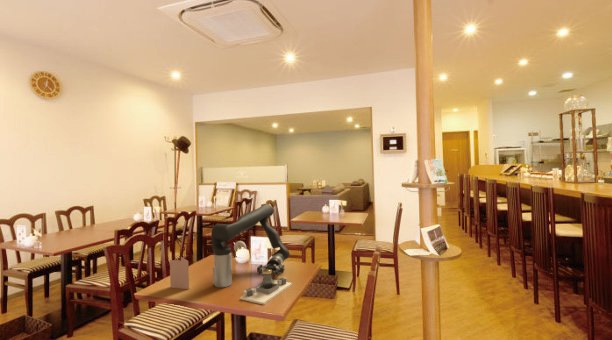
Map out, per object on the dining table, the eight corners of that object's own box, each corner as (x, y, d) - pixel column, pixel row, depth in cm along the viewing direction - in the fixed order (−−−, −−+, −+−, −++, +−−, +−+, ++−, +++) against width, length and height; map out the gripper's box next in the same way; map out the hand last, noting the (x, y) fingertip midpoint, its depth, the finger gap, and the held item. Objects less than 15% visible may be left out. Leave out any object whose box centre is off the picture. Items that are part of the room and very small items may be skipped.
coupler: (261, 290, 153) (260, 271, 153) (266, 287, 158) (266, 268, 158) (268, 292, 151) (268, 272, 151) (274, 288, 155) (273, 269, 155)
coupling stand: (240, 299, 146) (240, 291, 146) (270, 280, 169) (270, 274, 169) (263, 304, 140) (263, 297, 140) (292, 284, 163) (291, 278, 163)
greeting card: (190, 288, 161) (190, 260, 161) (176, 292, 156) (175, 263, 156) (183, 282, 170) (182, 256, 169) (169, 286, 165) (168, 259, 165)
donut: (233, 254, 224) (232, 241, 224) (235, 253, 227) (235, 240, 227) (244, 255, 220) (244, 241, 220) (247, 254, 224) (247, 240, 224)
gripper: (262, 256, 172) (254, 266, 156) (287, 257, 170) (280, 266, 154) (263, 270, 172) (254, 280, 156) (287, 270, 170) (281, 281, 154)
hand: (267, 273), depth 155 cm, fingers open, 8 cm apart
